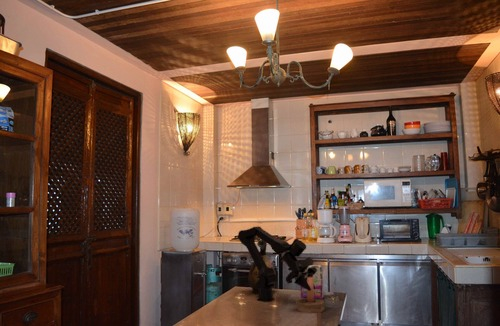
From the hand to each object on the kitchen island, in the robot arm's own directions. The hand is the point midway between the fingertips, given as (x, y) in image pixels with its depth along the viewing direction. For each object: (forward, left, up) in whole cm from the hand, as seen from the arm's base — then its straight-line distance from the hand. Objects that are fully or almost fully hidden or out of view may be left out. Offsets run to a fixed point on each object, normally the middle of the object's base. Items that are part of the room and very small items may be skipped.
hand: (312, 289), depth 183 cm
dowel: (-1, 0, -7) cm, 7 cm away
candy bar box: (-9, +22, -9) cm, 26 cm away
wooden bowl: (-1, 0, -9) cm, 9 cm away
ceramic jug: (-38, +21, -9) cm, 45 cm away
